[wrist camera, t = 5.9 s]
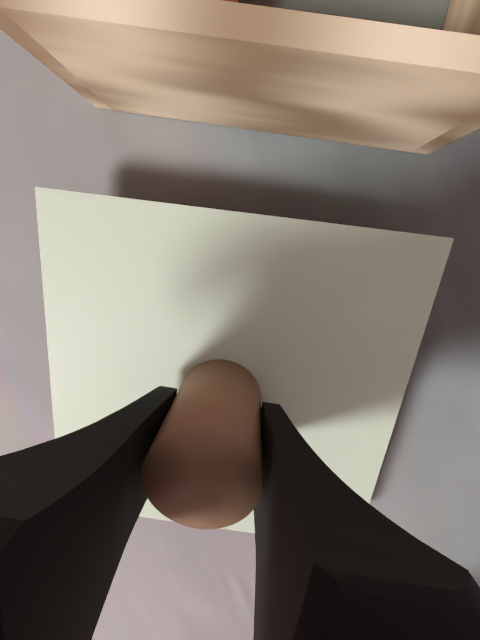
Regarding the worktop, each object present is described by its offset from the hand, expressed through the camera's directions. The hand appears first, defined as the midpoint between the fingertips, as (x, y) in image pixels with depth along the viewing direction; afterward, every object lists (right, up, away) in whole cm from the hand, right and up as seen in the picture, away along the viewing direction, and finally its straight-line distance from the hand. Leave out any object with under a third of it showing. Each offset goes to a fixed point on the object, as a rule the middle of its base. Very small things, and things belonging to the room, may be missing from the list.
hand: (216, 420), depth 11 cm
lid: (0, +1, +1) cm, 1 cm away
